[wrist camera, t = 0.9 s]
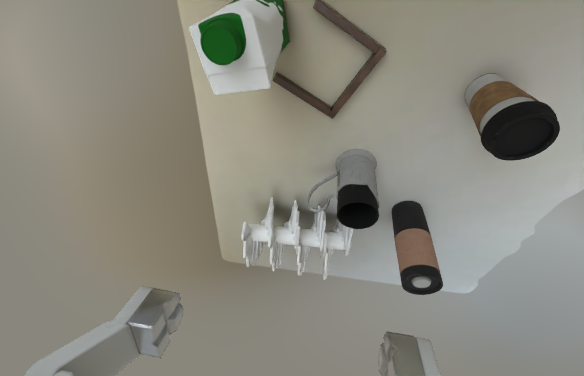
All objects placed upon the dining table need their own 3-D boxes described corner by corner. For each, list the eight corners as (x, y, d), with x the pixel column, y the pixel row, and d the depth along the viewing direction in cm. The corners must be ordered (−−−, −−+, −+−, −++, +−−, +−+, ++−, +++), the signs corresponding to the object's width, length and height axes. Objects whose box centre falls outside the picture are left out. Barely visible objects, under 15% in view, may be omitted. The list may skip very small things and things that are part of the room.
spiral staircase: (344, 216, 80) (258, 208, 81) (357, 196, 63) (249, 186, 64) (342, 283, 73) (248, 273, 74) (356, 280, 57) (235, 267, 58)
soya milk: (285, -19, 41) (251, 12, 27) (296, 47, 47) (273, 101, 33) (230, -7, 43) (171, 28, 29) (247, 55, 49) (205, 109, 35)
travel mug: (417, 222, 71) (434, 297, 57) (386, 218, 72) (396, 291, 58) (428, 202, 66) (450, 279, 52) (395, 197, 67) (408, 272, 52)
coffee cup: (469, 64, 45) (507, 108, 34) (525, 66, 44) (583, 113, 33) (448, 111, 51) (475, 162, 40) (498, 115, 50) (540, 167, 39)
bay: (318, -3, 42) (317, -1, 41) (385, 48, 45) (386, 51, 44) (274, 77, 51) (272, 80, 50) (333, 115, 54) (332, 118, 53)
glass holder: (375, 179, 64) (381, 231, 53) (314, 181, 67) (307, 230, 56) (377, 148, 58) (383, 199, 47) (309, 151, 61) (301, 199, 50)
